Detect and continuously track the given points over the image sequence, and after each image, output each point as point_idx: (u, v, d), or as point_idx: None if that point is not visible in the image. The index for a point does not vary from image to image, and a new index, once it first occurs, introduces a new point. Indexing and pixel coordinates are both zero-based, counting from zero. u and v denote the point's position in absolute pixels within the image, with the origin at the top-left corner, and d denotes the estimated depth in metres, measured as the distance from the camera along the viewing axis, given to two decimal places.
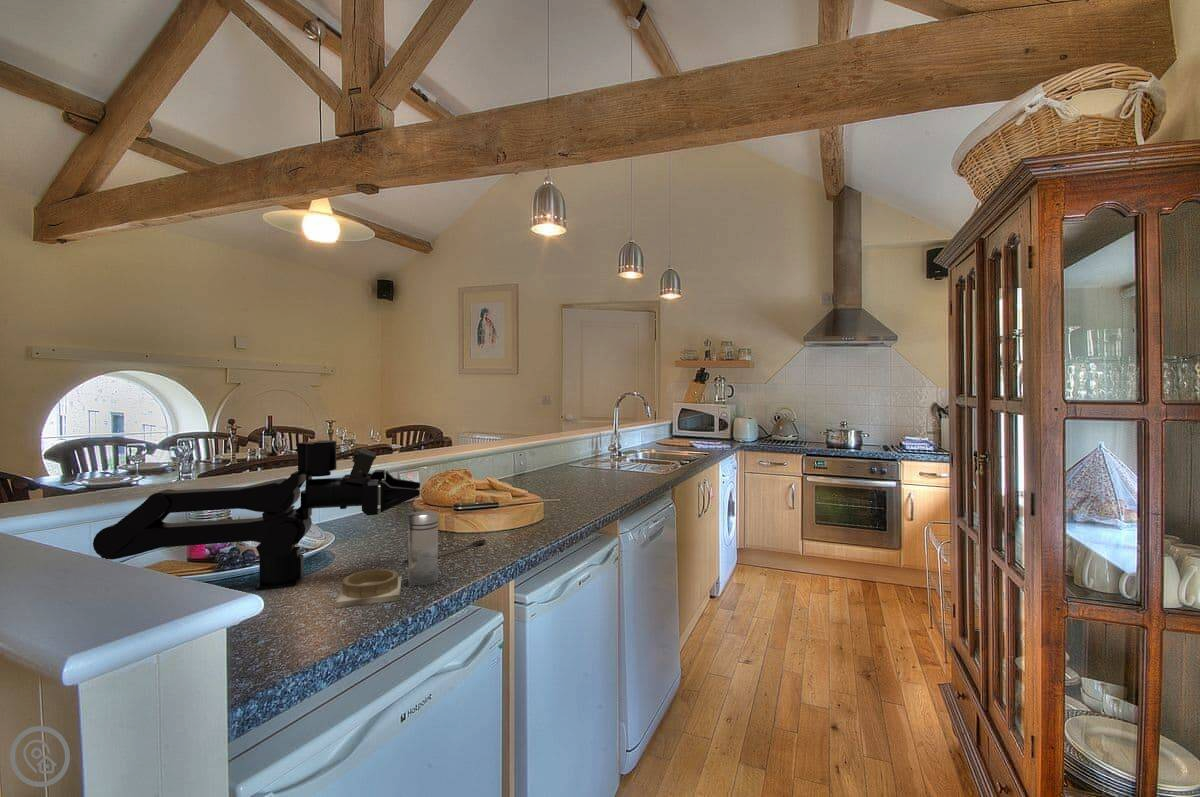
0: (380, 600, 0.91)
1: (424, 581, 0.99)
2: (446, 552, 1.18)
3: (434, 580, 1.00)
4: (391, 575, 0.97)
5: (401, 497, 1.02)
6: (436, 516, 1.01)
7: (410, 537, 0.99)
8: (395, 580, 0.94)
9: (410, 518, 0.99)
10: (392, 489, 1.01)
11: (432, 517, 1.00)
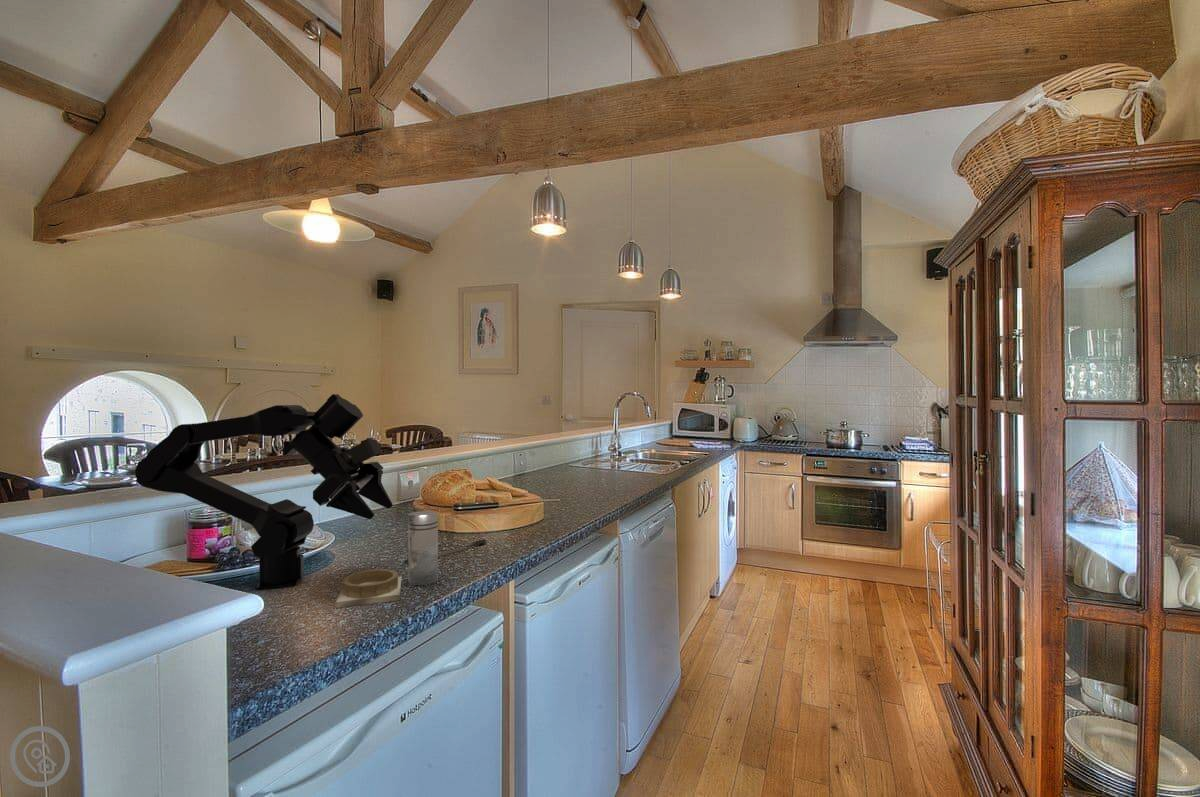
0: (380, 600, 0.91)
1: (424, 581, 0.99)
2: (447, 552, 1.19)
3: (434, 580, 1.00)
4: (391, 575, 0.97)
5: (354, 508, 0.95)
6: (436, 516, 1.01)
7: (410, 537, 0.99)
8: (395, 580, 0.94)
9: (410, 518, 0.99)
10: (353, 496, 0.95)
11: (432, 517, 1.00)
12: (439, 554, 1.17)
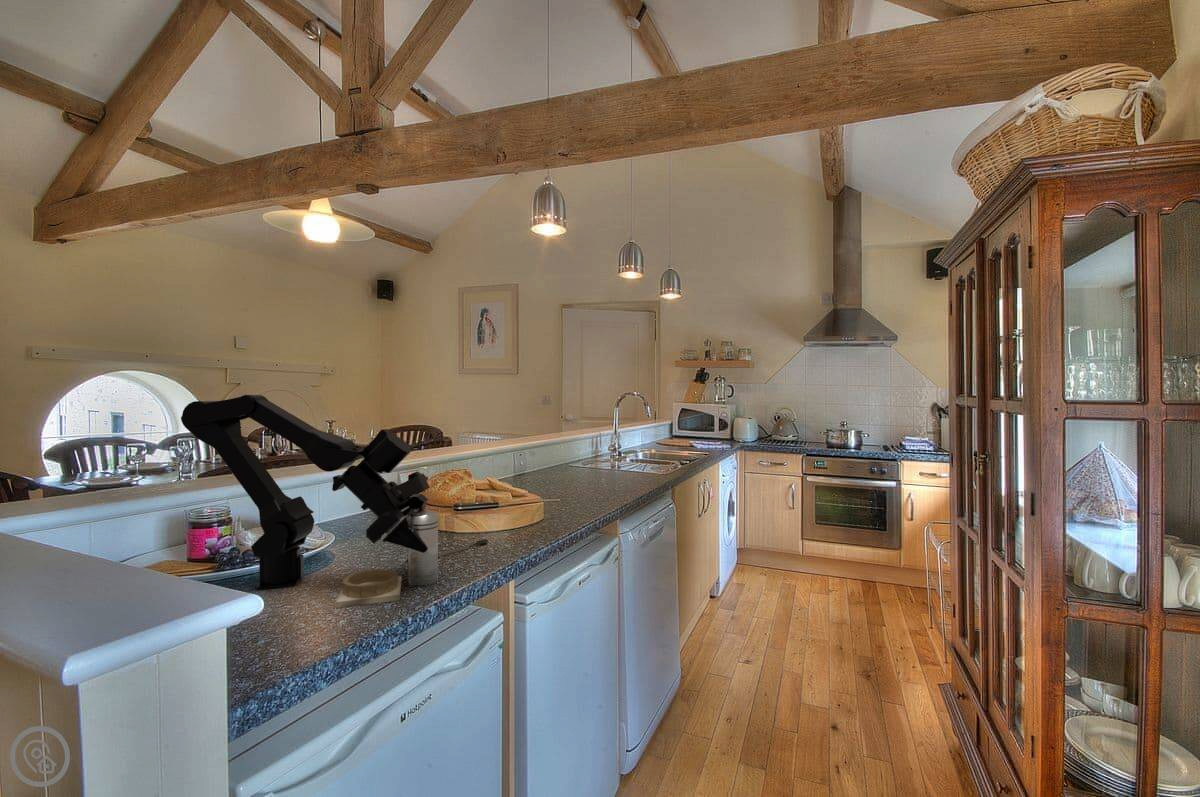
0: (380, 600, 0.91)
1: (424, 581, 0.99)
2: (448, 552, 1.19)
3: (434, 580, 1.00)
4: (391, 575, 0.97)
5: (409, 542, 0.97)
6: (436, 516, 1.01)
7: None
8: (395, 580, 0.94)
9: None
10: (408, 530, 0.97)
11: (432, 517, 1.00)
12: (441, 554, 1.17)
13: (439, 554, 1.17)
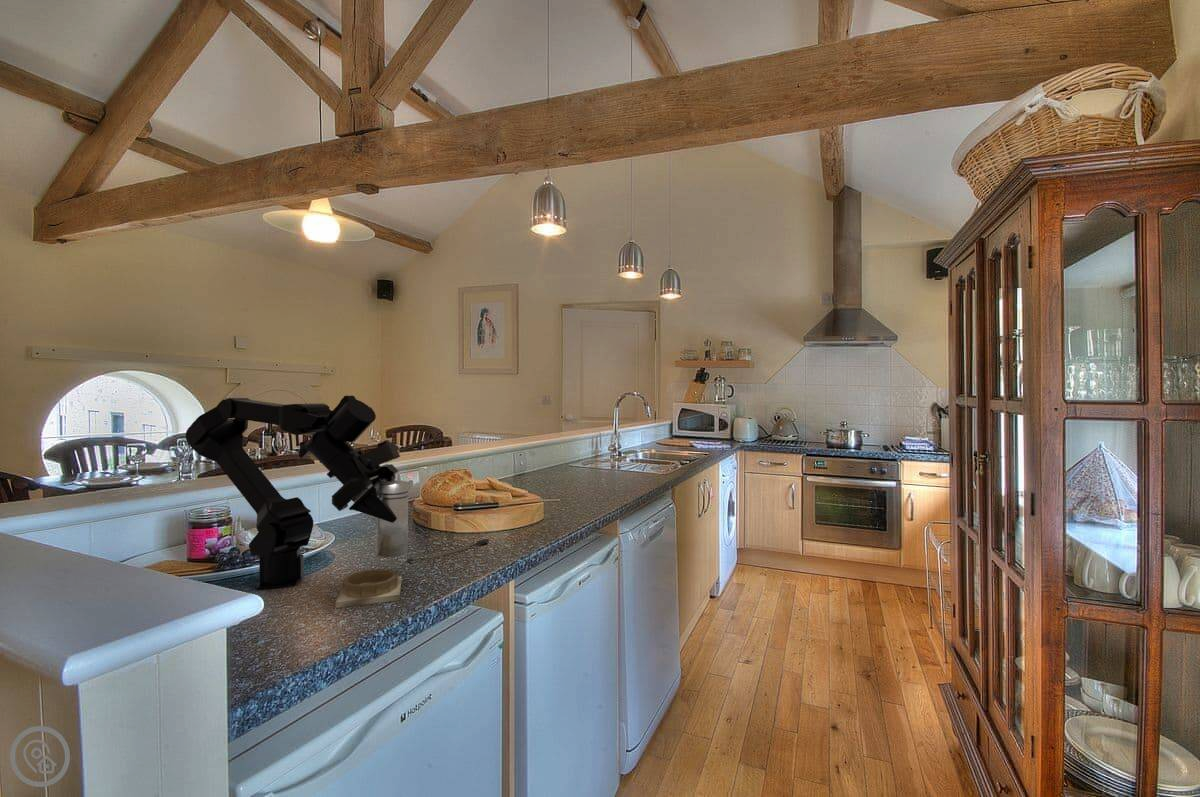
0: (380, 600, 0.91)
1: (392, 552, 0.95)
2: (449, 551, 1.19)
3: (403, 551, 0.97)
4: (391, 575, 0.97)
5: (377, 511, 0.94)
6: (407, 486, 0.98)
7: None
8: (395, 580, 0.94)
9: (379, 487, 0.96)
10: (376, 499, 0.93)
11: (402, 486, 0.96)
12: (442, 553, 1.18)
13: (440, 554, 1.17)
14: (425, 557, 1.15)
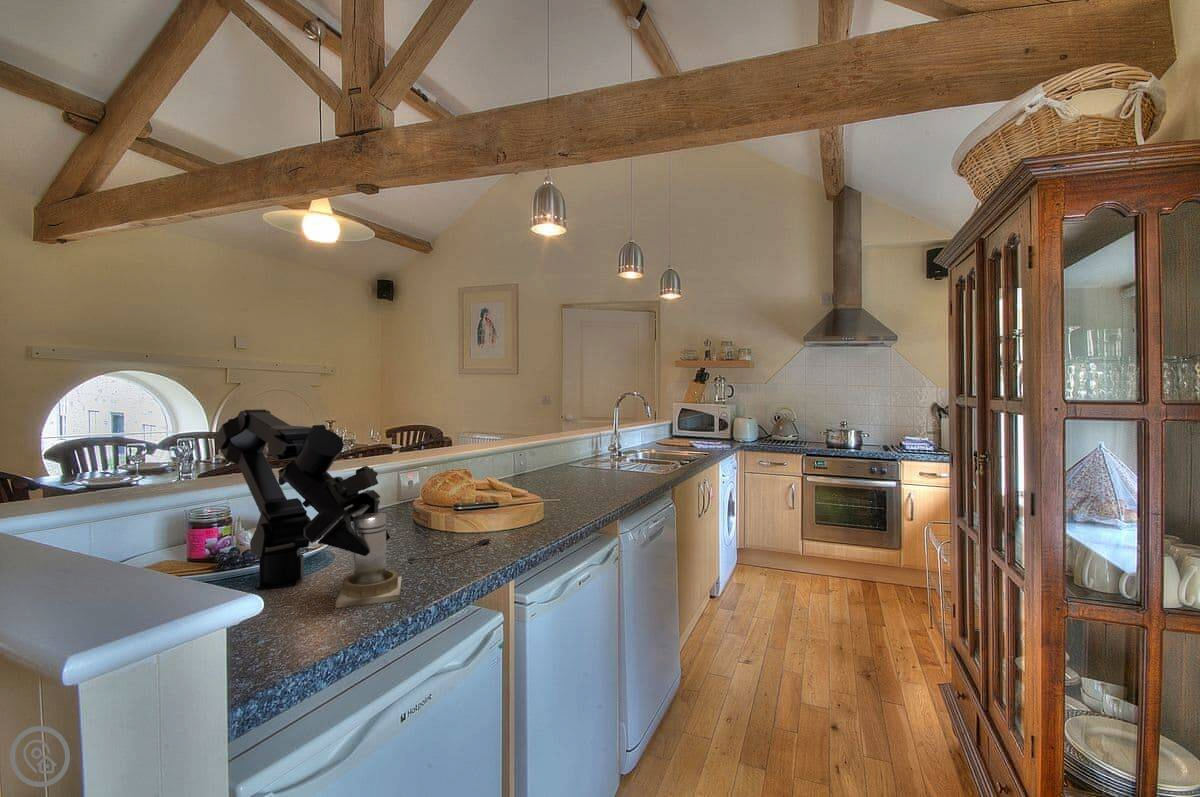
0: (380, 600, 0.91)
1: None
2: (450, 551, 1.19)
3: None
4: (391, 575, 0.97)
5: (348, 544, 0.89)
6: (383, 519, 0.94)
7: None
8: (395, 580, 0.94)
9: (354, 521, 0.93)
10: (347, 531, 0.88)
11: (378, 520, 0.93)
12: (443, 553, 1.18)
13: (441, 553, 1.17)
14: (426, 557, 1.15)
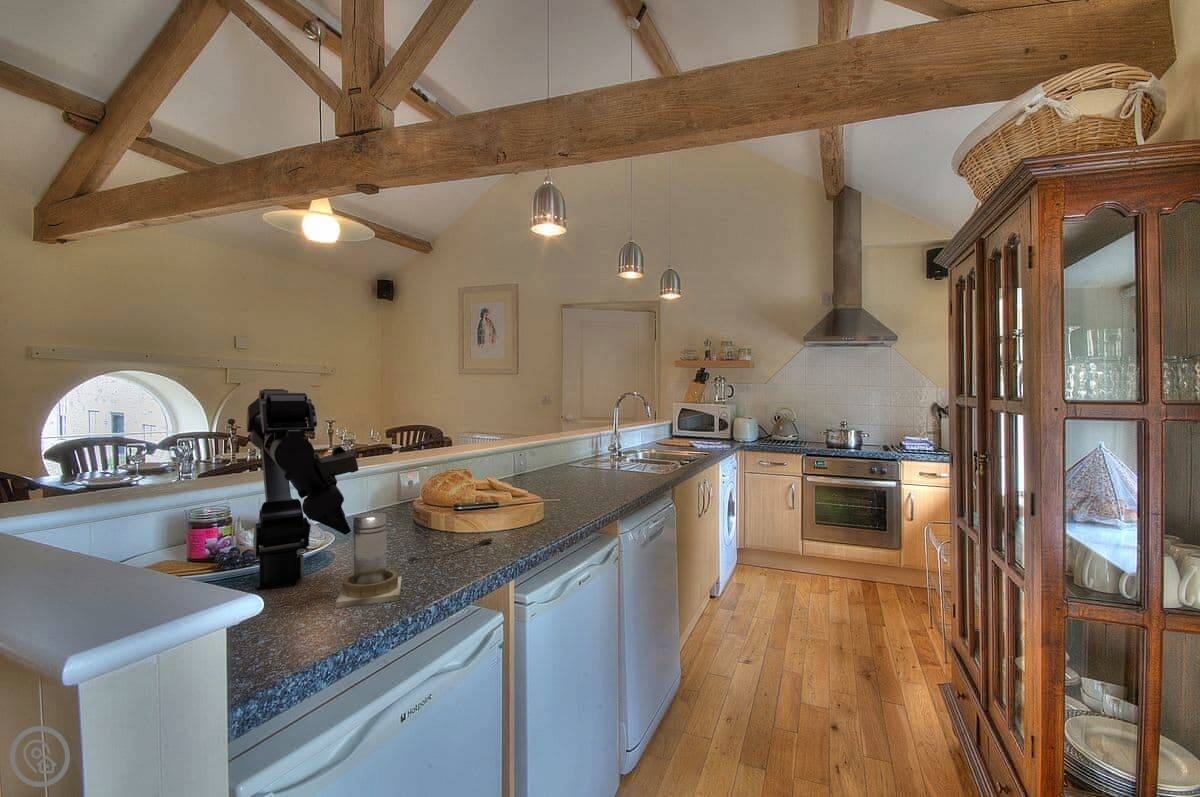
0: (380, 600, 0.91)
1: None
2: (452, 551, 1.20)
3: None
4: (391, 575, 0.97)
5: (335, 523, 0.94)
6: (383, 519, 0.94)
7: (354, 541, 0.93)
8: (395, 580, 0.94)
9: (355, 521, 0.93)
10: (339, 511, 0.94)
11: (379, 520, 0.93)
12: (444, 553, 1.18)
13: (443, 553, 1.18)
14: (428, 556, 1.15)
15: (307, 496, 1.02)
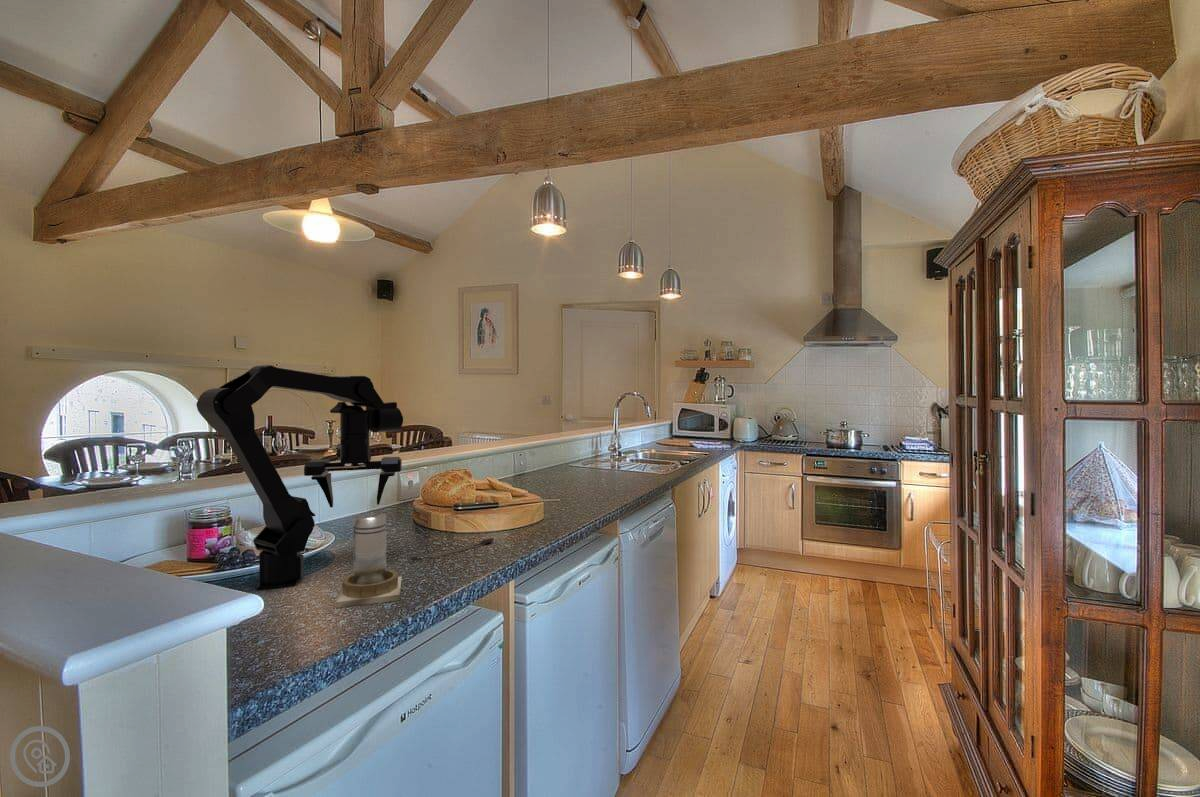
0: (380, 600, 0.91)
1: None
2: (453, 550, 1.20)
3: None
4: (391, 575, 0.97)
5: None
6: (383, 519, 0.94)
7: (354, 541, 0.93)
8: (395, 580, 0.94)
9: (355, 521, 0.93)
10: None
11: (379, 520, 0.93)
12: (445, 552, 1.18)
13: (444, 553, 1.18)
14: (429, 556, 1.16)
15: (318, 477, 1.09)
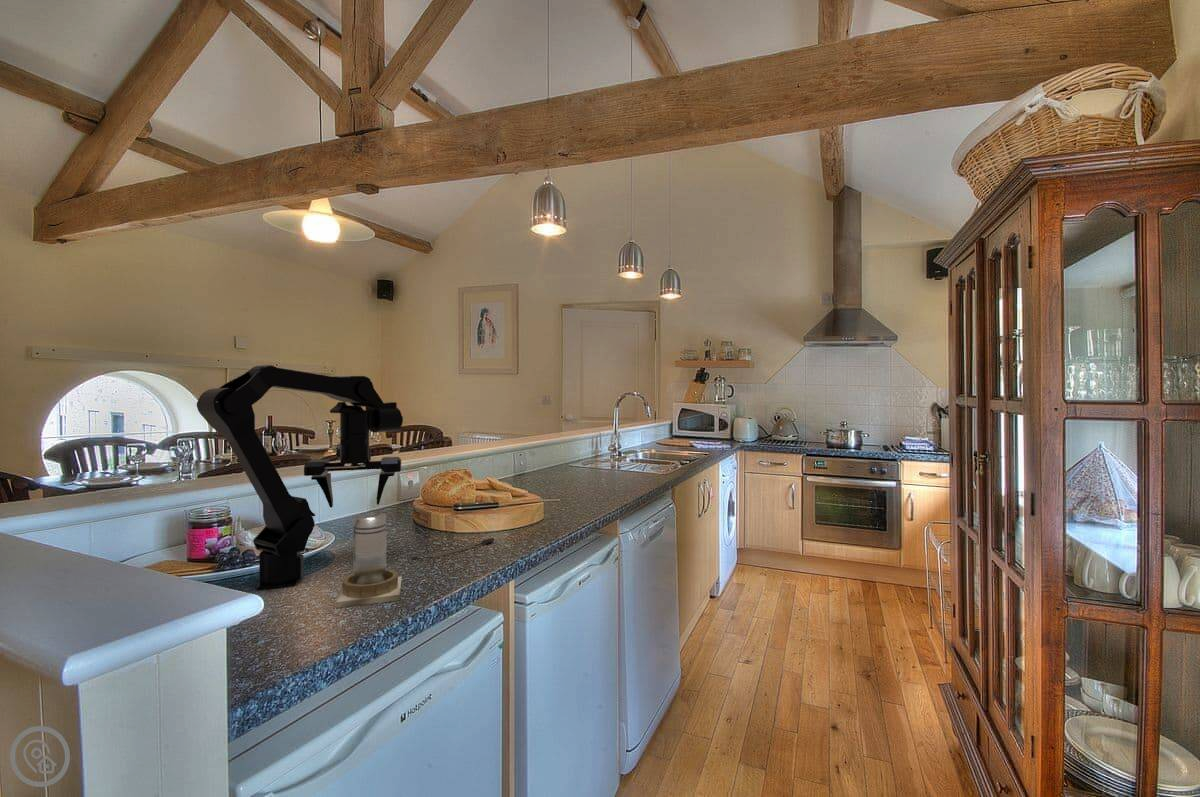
0: (380, 600, 0.91)
1: None
2: (454, 550, 1.20)
3: None
4: (391, 575, 0.97)
5: None
6: (383, 519, 0.94)
7: (354, 541, 0.93)
8: (395, 580, 0.94)
9: (355, 521, 0.93)
10: None
11: (379, 520, 0.93)
12: (446, 552, 1.18)
13: (444, 553, 1.18)
14: (429, 556, 1.16)
15: (318, 477, 1.09)
